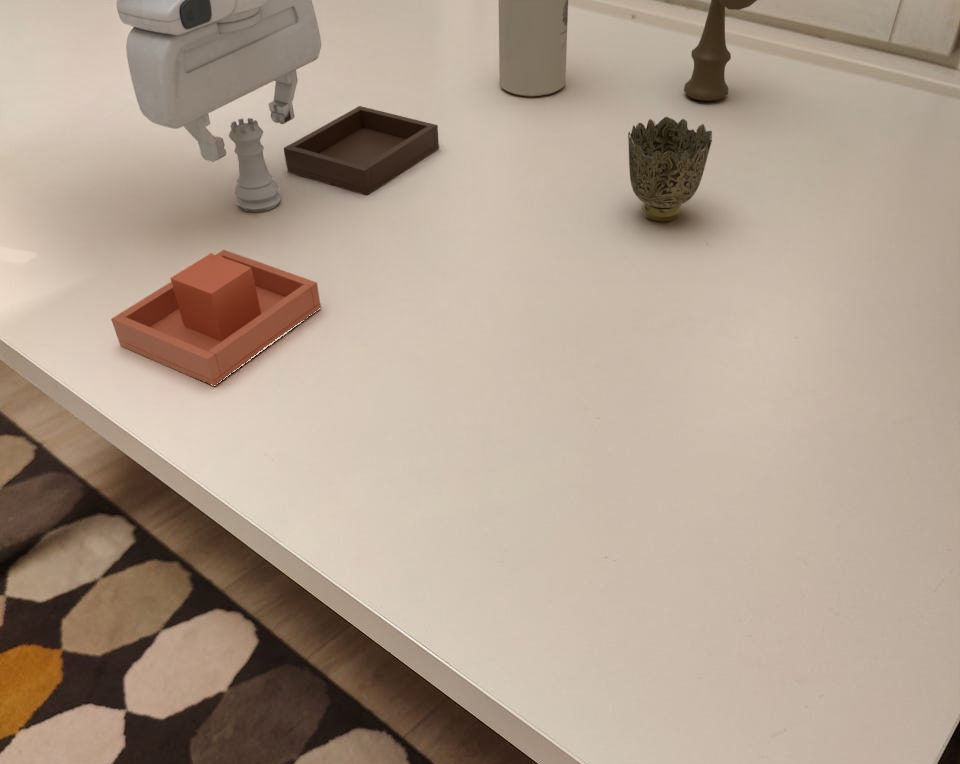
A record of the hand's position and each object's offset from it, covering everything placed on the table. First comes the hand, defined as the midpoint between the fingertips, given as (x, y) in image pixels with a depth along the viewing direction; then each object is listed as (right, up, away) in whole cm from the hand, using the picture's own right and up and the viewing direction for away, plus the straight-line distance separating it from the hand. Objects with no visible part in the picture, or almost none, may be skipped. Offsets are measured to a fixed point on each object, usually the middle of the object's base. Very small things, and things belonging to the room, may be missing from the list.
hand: (250, 138), depth 89 cm
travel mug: (+28, +15, +25) cm, 41 cm away
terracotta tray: (+1, -20, -12) cm, 23 cm away
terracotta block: (+1, -19, -12) cm, 23 cm away
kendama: (+48, +13, +21) cm, 54 cm away
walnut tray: (+9, +2, +11) cm, 15 cm away
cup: (+39, -7, +1) cm, 40 cm away
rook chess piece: (0, -5, +5) cm, 7 cm away
